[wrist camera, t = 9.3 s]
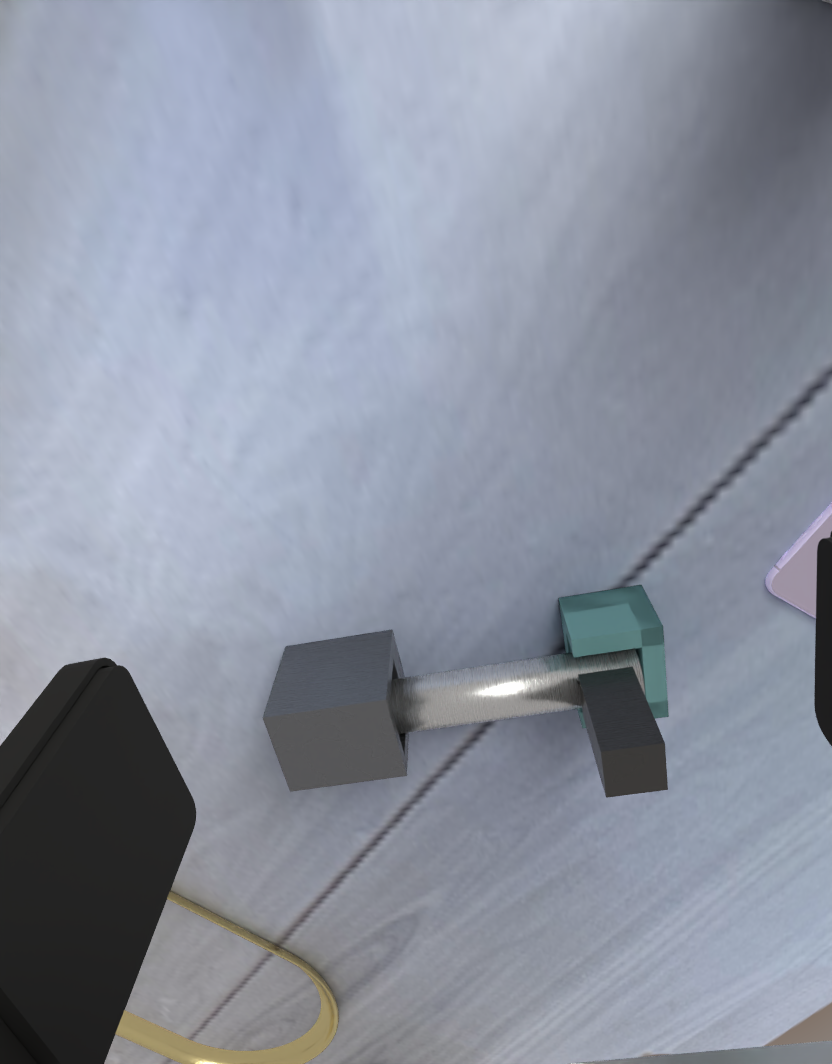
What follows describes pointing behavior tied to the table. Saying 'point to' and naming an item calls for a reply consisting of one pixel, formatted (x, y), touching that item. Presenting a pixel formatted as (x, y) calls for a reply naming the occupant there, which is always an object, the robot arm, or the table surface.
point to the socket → (619, 635)
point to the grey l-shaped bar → (550, 708)
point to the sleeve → (337, 712)
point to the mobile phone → (801, 567)
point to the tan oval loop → (207, 1060)
